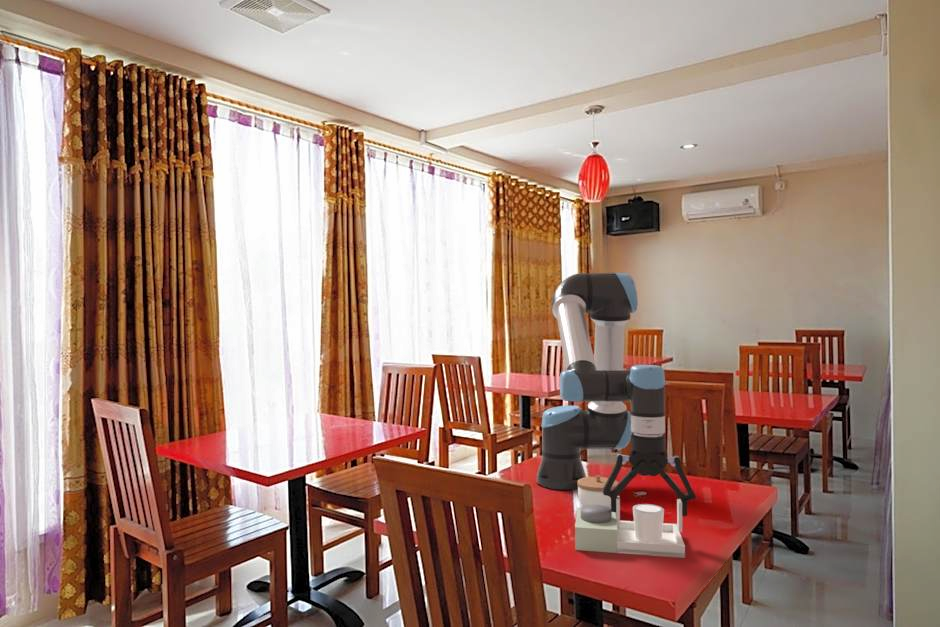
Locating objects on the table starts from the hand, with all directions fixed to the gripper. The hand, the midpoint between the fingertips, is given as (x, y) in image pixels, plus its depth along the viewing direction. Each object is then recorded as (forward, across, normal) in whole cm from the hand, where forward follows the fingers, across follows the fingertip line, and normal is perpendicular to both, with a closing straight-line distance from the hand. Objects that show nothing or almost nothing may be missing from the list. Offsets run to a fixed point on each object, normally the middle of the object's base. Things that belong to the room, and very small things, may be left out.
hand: (648, 528), depth 138 cm
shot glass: (+3, 0, 0) cm, 3 cm away
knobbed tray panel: (+3, -5, 0) cm, 6 cm away
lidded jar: (+4, -11, +21) cm, 24 cm away
